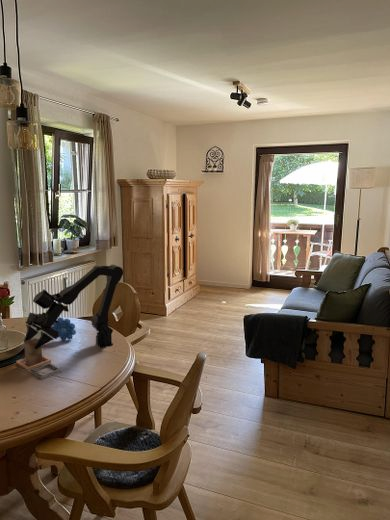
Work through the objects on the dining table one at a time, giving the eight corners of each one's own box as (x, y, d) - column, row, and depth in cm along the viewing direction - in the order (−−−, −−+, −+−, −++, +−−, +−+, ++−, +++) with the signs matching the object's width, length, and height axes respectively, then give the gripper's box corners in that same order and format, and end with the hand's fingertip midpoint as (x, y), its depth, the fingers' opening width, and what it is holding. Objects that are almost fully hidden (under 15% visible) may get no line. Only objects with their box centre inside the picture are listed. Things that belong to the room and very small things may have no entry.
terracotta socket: (39, 355, 174) (38, 353, 174) (51, 362, 168) (51, 359, 168) (16, 363, 167) (16, 360, 166) (28, 370, 160) (28, 367, 160)
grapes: (50, 344, 187) (49, 321, 185) (52, 339, 193) (50, 316, 191) (76, 342, 190) (75, 319, 188) (76, 337, 196) (75, 314, 194)
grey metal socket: (49, 365, 165) (49, 362, 165) (61, 371, 160) (60, 368, 159) (30, 372, 158) (30, 369, 158) (41, 379, 153) (41, 376, 153)
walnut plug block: (36, 359, 171) (35, 338, 169) (42, 362, 167) (41, 340, 166) (25, 363, 167) (24, 341, 165) (31, 366, 164) (29, 344, 162)
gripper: (28, 301, 172) (5, 331, 165) (50, 309, 160) (26, 342, 153) (46, 313, 179) (24, 343, 173) (68, 323, 167) (46, 355, 161)
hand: (29, 345), depth 165 cm, fingers open, 9 cm apart
